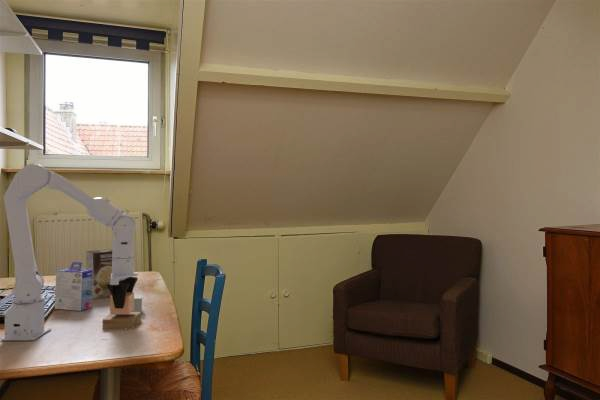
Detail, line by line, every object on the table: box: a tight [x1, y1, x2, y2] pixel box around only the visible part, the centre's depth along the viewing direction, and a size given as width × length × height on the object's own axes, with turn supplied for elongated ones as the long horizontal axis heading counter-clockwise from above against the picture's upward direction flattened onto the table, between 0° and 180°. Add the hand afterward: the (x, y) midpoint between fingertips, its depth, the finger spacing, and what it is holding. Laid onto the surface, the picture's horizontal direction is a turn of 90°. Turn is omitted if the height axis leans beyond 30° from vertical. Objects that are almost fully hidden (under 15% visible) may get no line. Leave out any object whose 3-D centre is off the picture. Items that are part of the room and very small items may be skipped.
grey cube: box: [132, 294, 143, 315], centre depth 143 cm, size 5×5×5 cm
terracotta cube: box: [109, 292, 135, 314], centre depth 130 cm, size 5×5×5 cm
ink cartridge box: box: [54, 261, 93, 312], centre depth 147 cm, size 10×6×14 cm, turn 78°
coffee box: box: [85, 249, 112, 300], centre depth 165 cm, size 9×6×16 cm
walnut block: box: [102, 312, 142, 330], centre depth 130 cm, size 8×8×3 cm
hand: (122, 305), depth 130 cm, fingers closed on terracotta cube, 5 cm apart
